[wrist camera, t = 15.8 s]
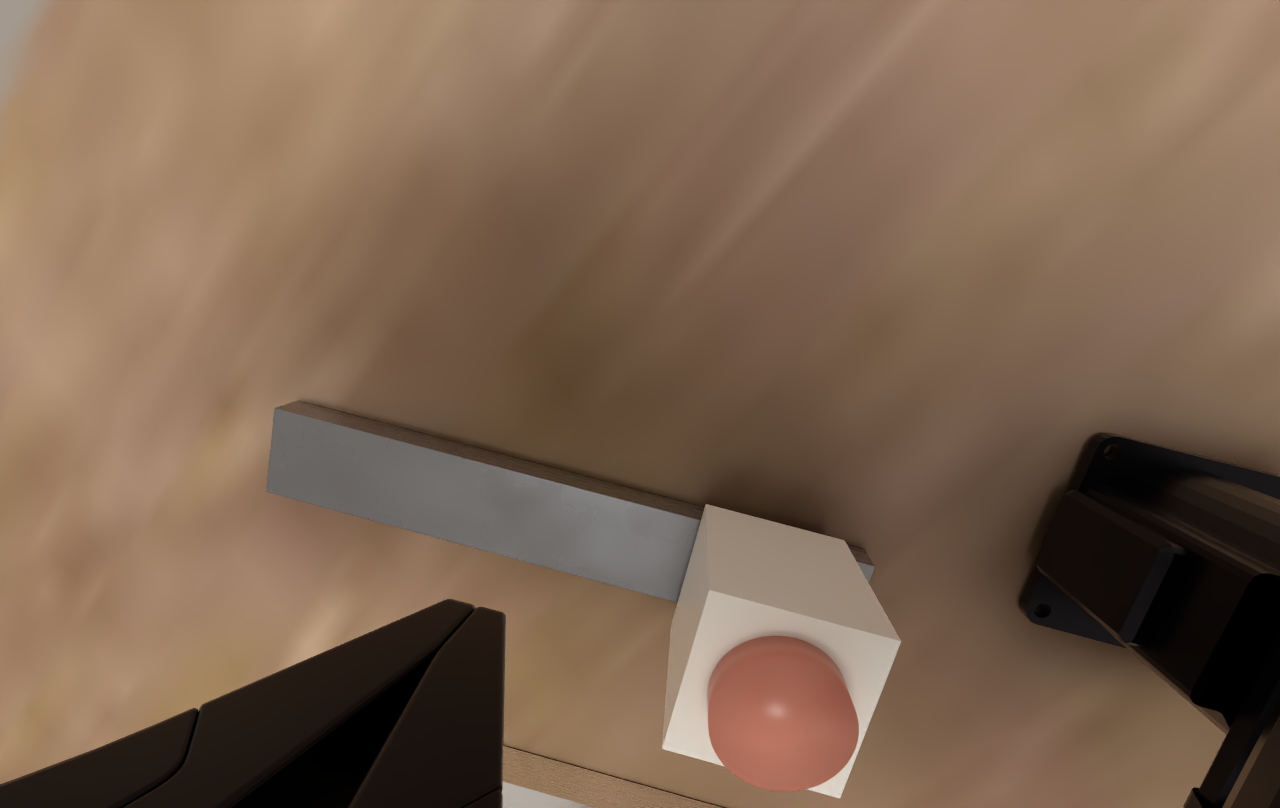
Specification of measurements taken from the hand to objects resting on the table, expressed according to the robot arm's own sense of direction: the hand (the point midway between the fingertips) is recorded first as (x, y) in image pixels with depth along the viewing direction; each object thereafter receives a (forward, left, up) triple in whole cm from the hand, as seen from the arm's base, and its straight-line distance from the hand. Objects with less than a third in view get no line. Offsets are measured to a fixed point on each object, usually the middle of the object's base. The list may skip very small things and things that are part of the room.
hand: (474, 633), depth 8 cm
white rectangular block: (-6, +3, -10) cm, 12 cm away
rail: (+1, +3, -12) cm, 12 cm away
